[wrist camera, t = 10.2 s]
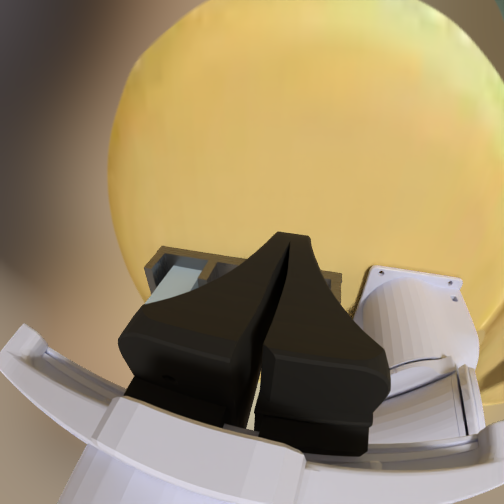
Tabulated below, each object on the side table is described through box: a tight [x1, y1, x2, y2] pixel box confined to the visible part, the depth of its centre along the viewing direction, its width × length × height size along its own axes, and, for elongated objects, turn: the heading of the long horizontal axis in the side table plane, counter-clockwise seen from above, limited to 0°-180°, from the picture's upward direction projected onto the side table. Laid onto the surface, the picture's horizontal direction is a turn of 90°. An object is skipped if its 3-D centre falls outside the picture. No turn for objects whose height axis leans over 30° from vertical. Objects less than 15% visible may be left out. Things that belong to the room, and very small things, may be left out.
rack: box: [144, 246, 342, 303], centre depth 25 cm, size 17×10×4 cm, turn 89°
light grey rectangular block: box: [145, 266, 202, 304], centre depth 24 cm, size 3×7×6 cm, turn 179°
